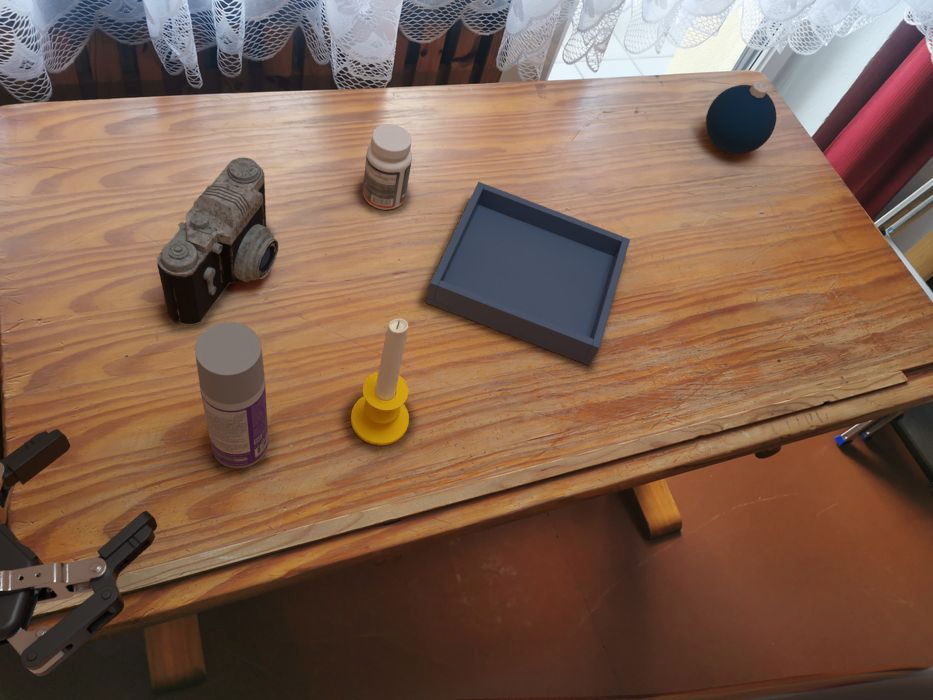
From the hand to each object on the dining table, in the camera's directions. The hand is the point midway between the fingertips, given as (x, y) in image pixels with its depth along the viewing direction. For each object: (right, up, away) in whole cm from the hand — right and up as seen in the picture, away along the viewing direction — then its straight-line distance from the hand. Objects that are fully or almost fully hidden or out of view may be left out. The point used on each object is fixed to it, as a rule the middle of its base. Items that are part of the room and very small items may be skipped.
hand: (107, 476), depth 51 cm
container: (+4, 0, +15) cm, 16 cm away
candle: (+16, +2, +19) cm, 25 cm away
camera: (+1, +16, +24) cm, 29 cm away
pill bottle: (+15, +25, +34) cm, 45 cm away
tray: (+30, +16, +31) cm, 46 cm away
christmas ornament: (+57, +35, +50) cm, 84 cm away
